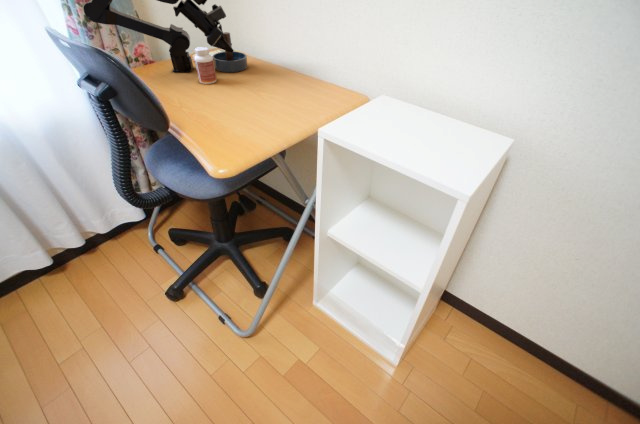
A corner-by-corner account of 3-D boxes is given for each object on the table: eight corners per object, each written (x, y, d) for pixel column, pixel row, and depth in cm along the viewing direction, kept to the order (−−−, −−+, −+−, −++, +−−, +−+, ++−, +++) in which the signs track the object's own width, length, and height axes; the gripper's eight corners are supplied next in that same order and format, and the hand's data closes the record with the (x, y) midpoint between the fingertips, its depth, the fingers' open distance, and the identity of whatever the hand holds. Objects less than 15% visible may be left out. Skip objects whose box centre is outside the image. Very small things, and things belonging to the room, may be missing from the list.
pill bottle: (220, 81, 114) (214, 48, 107) (206, 85, 110) (200, 52, 103) (209, 77, 117) (203, 45, 109) (195, 81, 113) (188, 48, 105)
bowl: (211, 72, 120) (209, 60, 117) (217, 62, 130) (215, 50, 127) (245, 73, 121) (244, 61, 118) (249, 63, 131) (248, 51, 128)
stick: (231, 67, 124) (226, 34, 116) (225, 66, 125) (220, 33, 117) (235, 66, 126) (231, 33, 118) (230, 64, 127) (226, 31, 119)
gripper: (210, 1, 102) (247, 37, 112) (209, -7, 115) (242, 26, 125) (190, 28, 106) (228, 61, 116) (191, 17, 119) (226, 48, 129)
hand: (232, 48), depth 121 cm, fingers open, 9 cm apart
